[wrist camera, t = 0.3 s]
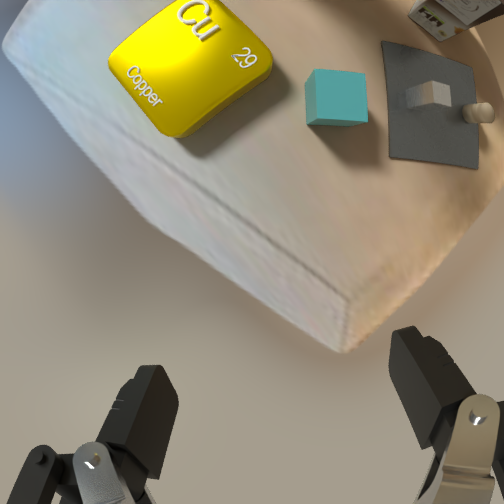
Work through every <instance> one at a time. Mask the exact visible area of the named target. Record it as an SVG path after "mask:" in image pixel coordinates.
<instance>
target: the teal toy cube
mask: <svg viewBox="0 0 504 504" xmlns="http://www.w3.org/2000/svg"><path fill="white" fill-rule="evenodd" d="M305 99H306V123H307V125H330V126H346V127H349V126H353V125H358V124H362V123H366V122H368V111H367V93H366V80H365V74H363V73H355V72H346V71H337V70H325V69H314V70H313V72H312V73H311V75H310V76H309V78H308V79H307V81H306V82H305Z"/></svg>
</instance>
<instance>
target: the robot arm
mask: <svg viewBox="0 0 504 504" xmlns="http://www.w3.org/2000/svg"><path fill="white" fill-rule="evenodd" d="M389 373H390V377H391V380H392V382H393V384H394V386H395V388H396V391H397V393H398V395H399V397H400V400H401V402H402V404H403V406H404V409H405V411H406V413H407V416H408V418H409V420H410V423H411V425H412V427H413V430H414V432H415V434H416V437H417V439H418V442H419V444H420V447H421V449H422V450H423V449H426V448H428V447H430V446H433V449H434V451H435V453H434V455H433V458H432V461H431V464H430V466H429V469H428V471H427V474H426V476H425V479H424V481H423V483H422V486H421V488H420V490H419V492H418V494H417V497H416V499H415V501H414V503H413V504H490V501H491V497H492V493H493V490H494V485H495V478H494V477H493V476H491V475H490V471H491V466H492V468H493V470H494V473H495V476H496V479H497V481H498V484H499V487H500V490H501V493H502V496H503V499H504V401H501V402H496V401H495V400H494V399H492V398H491V397H489V396H486V395H483V394H477V393H476V392H475V391H474V389H473V388H472V386H471V385H470V384H469V382H468V380H467V379H466V377H465V376H464V375H463V373H462V372H461V370H460V369H459V368H458V366H457V365H456V363H454V360H453V359H452V358H451V356H450V355H448V352H447V351H446V349H445V348H444V347H443V346H442V344H441V343H440V342H438V341H437V340H435V339H434V338H432V337H430V336H427V337H424V338H423V336H422V335H421V333H420V332H419V331H418V330H417V328H416V327H415V326H410V327H406V328H402V329H399V330H395V331H393V333H392V338H391V348H390V356H389ZM178 406H179V401H178V396H177V393H176V391H175V389H174V387H173V386H172V383H171V382H170V380H169V378H168V376H167V374H166V372H165V370H164V368H163V367H162V366H161V365H142V366H140V367H139V368H138V370H137V373H136V374H135V377H134V379H130V380H129V381H128V382H127V383H126V384H125V385H124V386H123V387H122V388H121V389H120V391H119V393H118V395H117V397H116V401H114V403H113V405H112V410H110V411H109V414H108V416H107V418H106V420H105V422H104V424H103V426H102V428H101V430H100V432H99V435H98V437H97V439H96V441H95V442H88V443H85V444H83V445H82V446H80V447H79V448H78V449H77V450H76V452H75V453H74V454H57V453H56V452H55V451H54V450H53V449H52V448H51V447H49V446H47V445H39V446H37V447H35V448H34V449H32V450H31V452H30V453H29V455H28V457H27V459H26V461H25V463H24V465H23V467H22V469H21V471H20V474H19V476H18V478H17V480H16V482H15V485H14V487H13V490H12V492H11V494H10V497H9V499H8V502H7V504H51V501H52V499H53V496H54V493H55V492H57V493H58V494H59V495H61V496H62V497H61V500H60V503H59V504H156V502H155V500H154V499H153V497H152V495H151V493H150V491H149V489H148V487H147V486H146V485H145V483H146V480H147V478H151V479H158V480H159V477H160V474H161V469H162V466H163V462H164V458H165V455H166V451H167V447H168V443H169V440H170V436H171V432H172V429H173V425H174V422H175V417H176V414H177V411H178Z"/></svg>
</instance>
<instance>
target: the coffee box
mask: <svg viewBox="0 0 504 504" xmlns="http://www.w3.org/2000/svg"><path fill="white" fill-rule="evenodd" d="M503 14H504V0H416V2H415V4H414V5H413V7H412V9H411V11H410V12H409V14H408V16H409V17H410V18H411V19H412V20H414V21H415V22H416V23H418V24H419V25H420V26H421V27H423V28H424V29H425V30H426V31H428V32H429V33H430V34H431V35H432V36H434V37H435V38H436V39H437V40H438V41H440V42H441V41H443V40H445V39H448V38H450V37H452V36H454V35H456V34H458V33H460V32H463V31H465V30H467V29H469V28H472V27H474V26H476V25H478V24H481V23H483V22H486V21H488V20H490V19H493V18H495V17H498V16H501V15H503Z"/></svg>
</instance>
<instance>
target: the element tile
mask: <svg viewBox="0 0 504 504" xmlns="http://www.w3.org/2000/svg"><path fill="white" fill-rule="evenodd" d="M272 62H273V57H272V53H271V51H270V50H269V48H268V47H267V46H266V45H265V44H264V43H263V42H262V41H261V40H260V39H259V38H258V37H257V36H256V35H255V34H254V33H253V32H252V31H251V30H250V29H249V28H248V27H247V26H246V25H245V24H244V23H243V22H242V21H241V20H240V19H239V18H238V17H237V16H236V15H235V14H234V13H233V12H232V11H231V10H230V9H228V8H227V7H226V6H225V5H224V4H223V3H222V2H221V1H219V0H175V1H174V2H172V3H171V4H169V5H168V6H167V7H165V8H164V9H162V10H161V11H160V12H158V13H157V14H156V15H154V16H153V17H152V18H150V19H149V20H148V21H147V22H145V23H144V24H143V25H142V26H140V27H139V28H138V29H137V30H136V31H134V32H133V33H132V34H131V35H130V36H129V37H127V38H126V39H125V40H124V41H123V42H122V43H121V44H120V45H118V46H117V47H116V48H115V49H114V50H113V52H112V53H111V55H110V56H109V59H108V67H109V69H110V71H111V72H112V73H113V75H114V76H115V77H116V78H117V80H118V81H119V82H120V83H121V85H122V86H123V87H124V88H125V90H126V91H127V92H128V93H129V94H130V96H131V97H132V98H133V99H134V101H135V102H136V103H137V104H138V106H139V107H140V108H141V109H142V111H143V112H144V113H145V114H146V116H147V117H148V118H149V119H150V121H151V122H152V123H153V124H154V125H155V127H156V128H157V129H158V130H159V131H160V132H161V133H162V134H164V135H166V136H168V137H175V138H184V137H187V136H189V135H191V134H193V133H194V132H195V131H196V130H198V129H199V128H200V127H201V126H203V125H204V124H205V123H206V122H208V121H209V120H210V119H211V118H213V117H214V116H215V115H217V114H218V113H219V112H221V111H222V110H223V109H225V108H226V107H227V106H229V105H230V104H231V103H233V102H234V101H235V100H237V99H238V98H240V97H241V96H242V95H244V94H245V93H247V92H248V91H249V90H251V89H252V88H254V87H255V86H257V85H258V84H260V83H261V82H263V81H264V80H266V79H267V78H268V76H269V75H270V73H271V69H272Z"/></svg>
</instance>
